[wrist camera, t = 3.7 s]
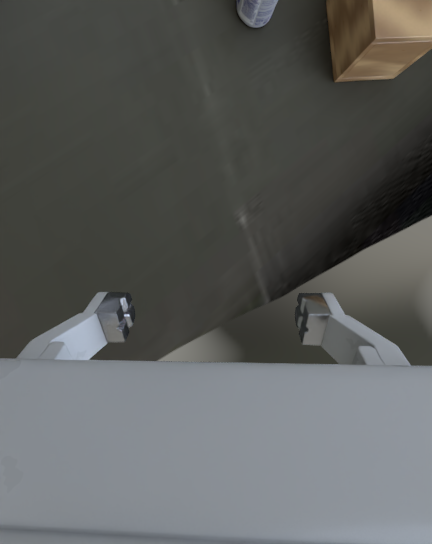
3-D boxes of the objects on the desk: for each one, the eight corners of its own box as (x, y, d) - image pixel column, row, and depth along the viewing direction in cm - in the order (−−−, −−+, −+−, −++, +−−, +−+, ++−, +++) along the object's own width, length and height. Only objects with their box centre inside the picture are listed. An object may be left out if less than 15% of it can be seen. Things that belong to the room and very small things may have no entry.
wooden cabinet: (325, 1, 40) (367, -66, 31) (387, 1, 41) (442, -64, 33) (333, 82, 41) (375, 38, 33) (393, 78, 43) (447, 35, 34)
